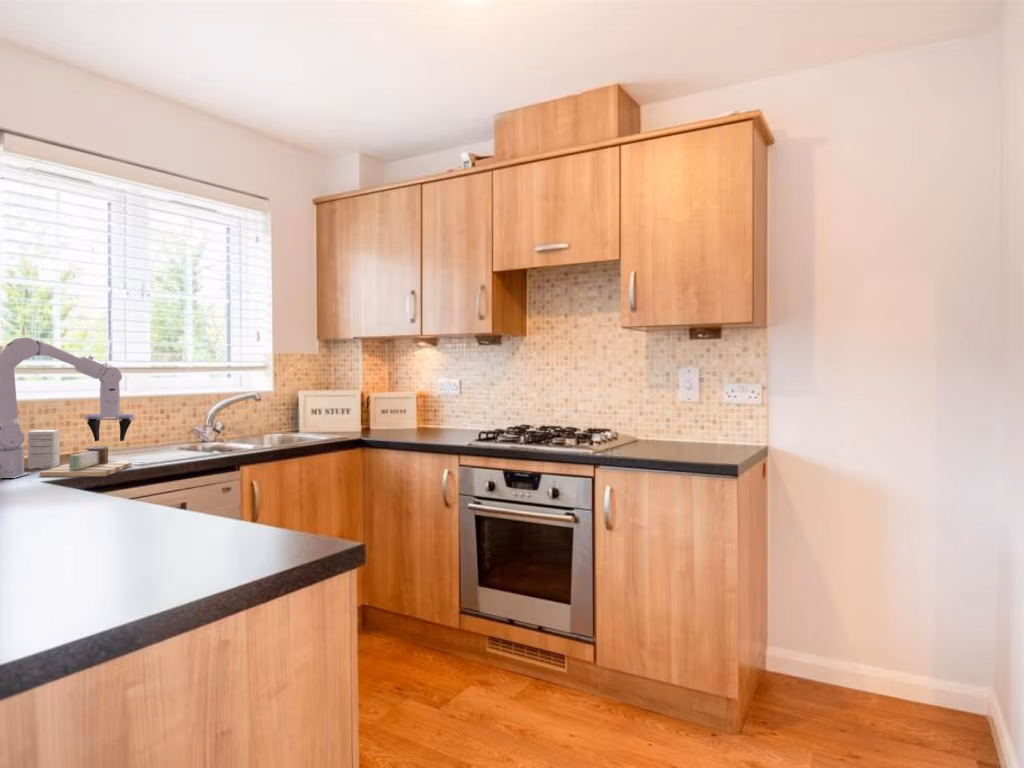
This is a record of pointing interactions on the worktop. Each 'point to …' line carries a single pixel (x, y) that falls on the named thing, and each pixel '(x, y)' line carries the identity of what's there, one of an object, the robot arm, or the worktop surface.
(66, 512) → the worktop surface
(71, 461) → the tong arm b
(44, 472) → the tong board
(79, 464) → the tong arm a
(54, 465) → the supplement box
